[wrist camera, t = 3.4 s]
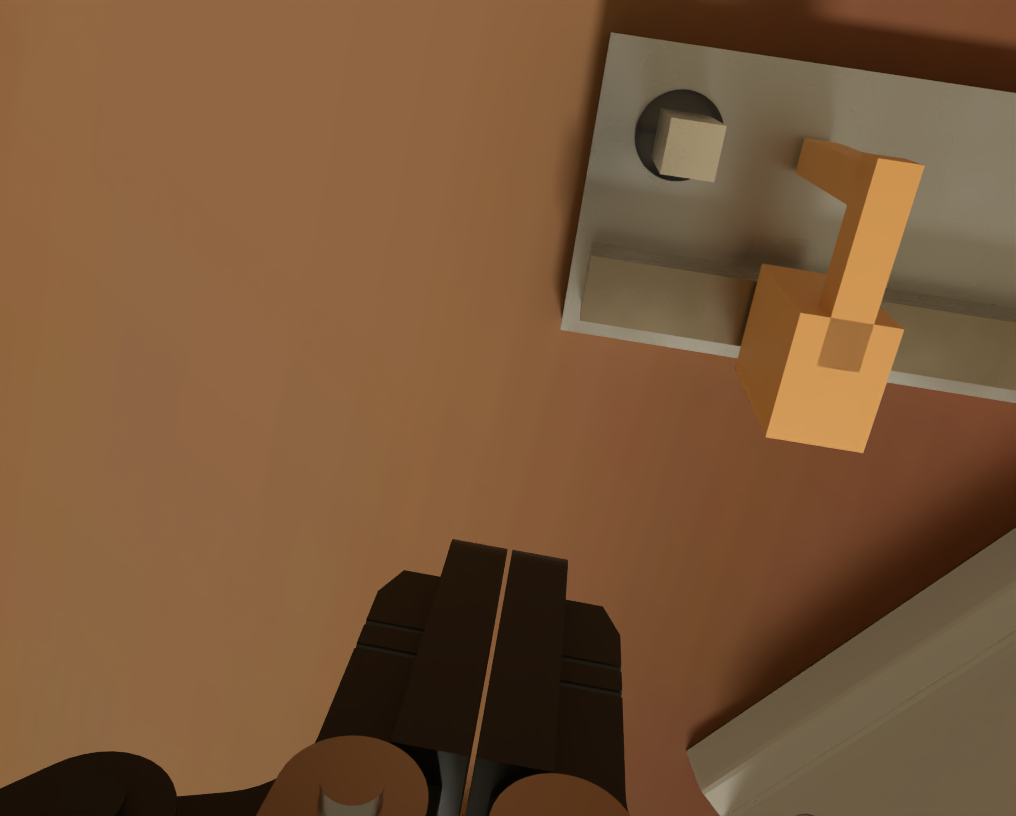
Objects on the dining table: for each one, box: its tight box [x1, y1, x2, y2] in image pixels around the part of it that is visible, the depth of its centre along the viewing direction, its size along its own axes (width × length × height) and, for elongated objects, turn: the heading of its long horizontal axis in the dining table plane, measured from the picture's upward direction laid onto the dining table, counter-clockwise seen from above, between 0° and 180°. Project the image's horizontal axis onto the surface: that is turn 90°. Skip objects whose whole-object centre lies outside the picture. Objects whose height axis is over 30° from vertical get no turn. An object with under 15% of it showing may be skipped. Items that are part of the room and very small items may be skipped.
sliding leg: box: [735, 138, 925, 453], centre depth 23 cm, size 2×7×7 cm, turn 172°
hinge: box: [686, 528, 1016, 816], centre depth 31 cm, size 17×5×10 cm, turn 136°
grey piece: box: [560, 32, 1016, 403], centre depth 25 cm, size 19×9×5 cm, turn 82°
